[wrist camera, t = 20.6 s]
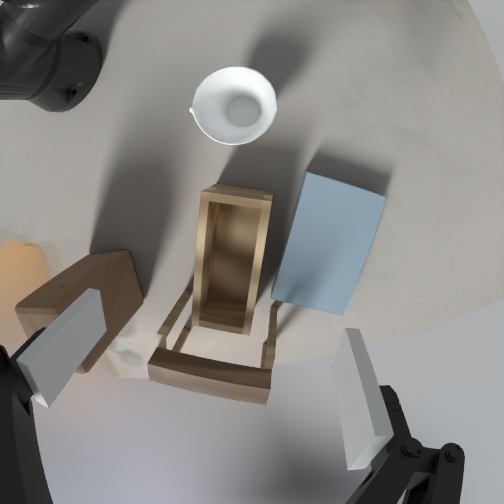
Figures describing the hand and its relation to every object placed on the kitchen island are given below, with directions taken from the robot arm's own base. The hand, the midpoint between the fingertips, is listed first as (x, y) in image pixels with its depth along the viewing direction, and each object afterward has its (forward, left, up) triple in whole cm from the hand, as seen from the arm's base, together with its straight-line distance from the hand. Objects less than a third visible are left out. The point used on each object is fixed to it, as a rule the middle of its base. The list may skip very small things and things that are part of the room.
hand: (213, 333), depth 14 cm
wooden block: (+15, -23, -28) cm, 39 cm away
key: (+18, -2, -16) cm, 24 cm away
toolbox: (+10, -2, -28) cm, 30 cm away
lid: (+2, +10, -29) cm, 30 cm away
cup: (-13, -4, -28) cm, 31 cm away
